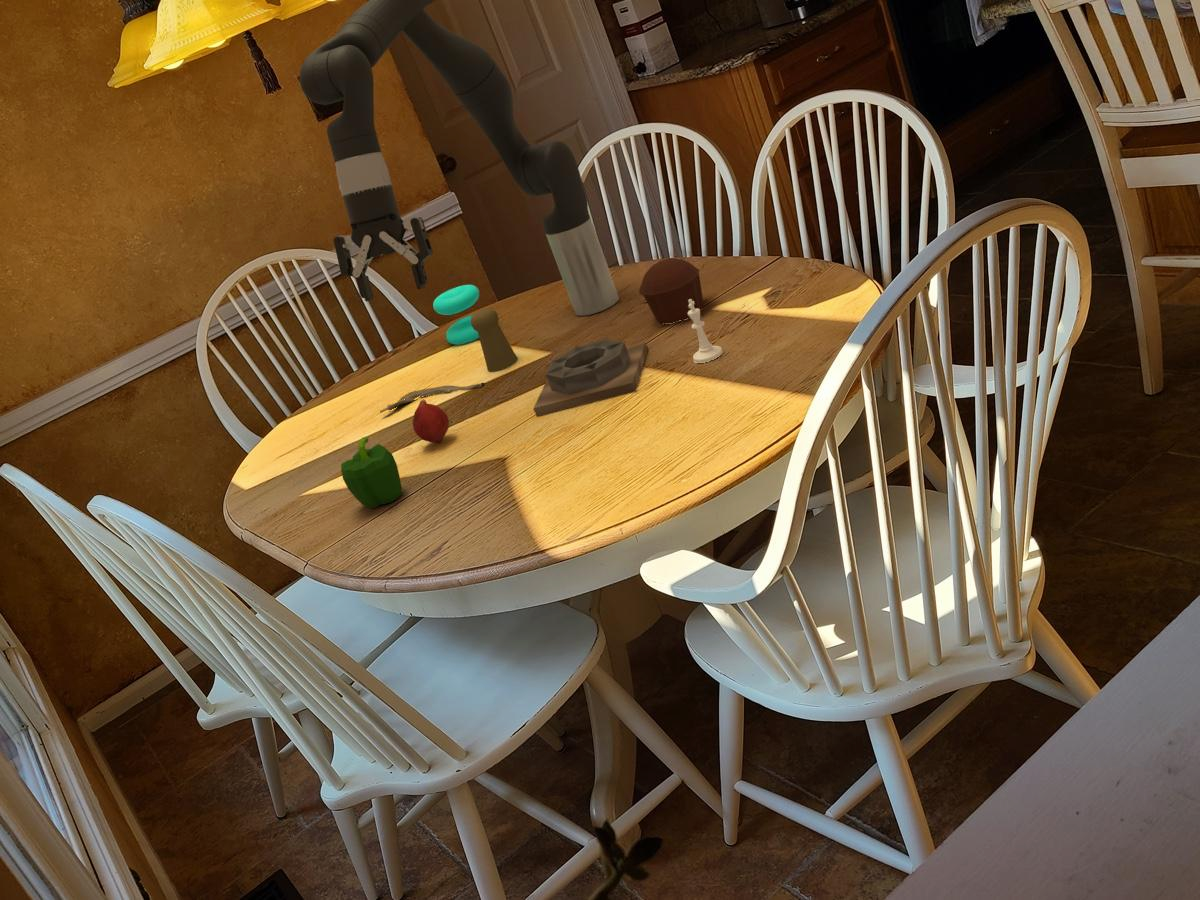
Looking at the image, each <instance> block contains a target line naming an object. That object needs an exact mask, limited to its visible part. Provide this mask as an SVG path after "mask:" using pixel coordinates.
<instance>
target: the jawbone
mask: <svg viewBox="0 0 1200 900" xmlns="http://www.w3.org/2000/svg"><path fill="white" fill-rule="evenodd" d="M485 385H486V383H485V382H480V383H477V384H475V383H474V384H471V385H467V386H460V385H459V386H458V385H442V386H435V387H429V388H425V389H419V390H414V391H409V392H408V393H407V394H405V395H403V396H402V397H400V398H399V400H398V401H397V402H394V403H392V404H388V405H387V406H386V407H385V408H383V409H381V410H380V411H379V413H380V414H381V413H383V412H386V411H389V410H392V409H394V408H396V407H397V406H398V407H399V406H400V405H402V404H405V403H410V402H414V401H413V400H414V399H415V398H417V397H419V396H420V397H422V396H427V397H429V396H428V395H431V396H434V395H433V394H435V395H439V394H443V393H444V394H445V393H452V391H453V392H459V391H458V390H461V391H468V389H469V390H473V389H474V388H475V389H479V388H481V387H483V386H485ZM404 399H405V400H404ZM398 407H397V408H398Z"/></svg>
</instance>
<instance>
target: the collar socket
mask: <svg viewBox="0 0 1200 900" xmlns="http://www.w3.org/2000/svg"><path fill="white" fill-rule="evenodd" d="M647 350H648V351H649V348H648V345H647V343H646V341H642V342H637V343H635V344H630V345H626V343H625V341H621V340H616V339H609V338H605V339H601V340H600V339H599V340H597V341H593V342H589V343H586V344H581V345H579V346H576V347H574V348H572V349H570V350H568V351H566V352H565V353H563V354H561V355H560V356H558V357H556V358H554V359H553V360H551V362H550V363H549V365H548V368H547V370H546V372H545V377H546V381H545V384H544V385H543V387H542V390H541V391H540V393H539V396H538V398H537V400H536V402H535V404H534V405H533V411H534V413H535V415H536V417H541V416H544V415H547V414H551V413H555V411H556V412H558V411H559V410H560V411H563V410H566V409H571V408H575V407H579V406H582V405H587V404H591V403H594V401H595V402H598V400H599V401H602V400H606V399H609V398H614V397H618V396H621V395H626V394H629V392H630V393H633V391H634V392H636V391H637V388H638V385H637V384H639V381H640V377H641V374H642V371H641V370H643V368H644V364H645V361H644V360H646V358H645V357H647V354H648V351H647ZM643 363H644V364H643ZM642 367H643V368H642ZM590 402H591V403H590ZM586 403H587V404H586Z"/></svg>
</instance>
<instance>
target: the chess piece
mask: <svg viewBox="0 0 1200 900" xmlns="http://www.w3.org/2000/svg"><path fill="white" fill-rule="evenodd" d="M688 302H689V306H688V307H689V308H691V310H690V311H689V312H688V315H689V317H690V320H691V321H692V322H693V323H692V324H691V329H693V330H694V329H695V330H696V333H697V338H698V345H699V348H698V351H696V352H695V353H694V354H693V356H692V358H693V363H695V364H697V363H704V364H706V363H705V362H708V363H710V362H709V361H711V360H714V359H716V358H717V357H719V356H720V355H721V354H722V353H723V354H724V350H723V349H722V346H719V345H713V344H711V343H710V342H709V339H708V338H707V335H706V334H705V330H704V329H703V327H705V326H704V325H705V322H704V321H703V320H702V321H701V311H700V309H698V308H694V304H695V303H694V301H692V299H689V300H688ZM722 350H723V351H722ZM723 354H722V355H723ZM719 358H720V357H719ZM716 360H717V359H716ZM714 361H715V360H714ZM711 362H712V361H711Z"/></svg>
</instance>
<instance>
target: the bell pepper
mask: <svg viewBox="0 0 1200 900" xmlns="http://www.w3.org/2000/svg"><path fill="white" fill-rule="evenodd" d="M368 442H369V437H368V436H363V437H361V438H360V440H359V442H358V446H357V447H358V451H357V452H356V453H355V454H354V455H353V456H352V459H347V460H346V461H344V462H342V463H341V465H340V467H341V470H340V471H341V472H340V473H341V475H342V476H341V477H342V479H343V481H344V483H345V486H346V487H347V489H348V490H349V492H350V494H352V495H353V497H354V498H355V499H356V500H357V501H358V502H359V503H360V504H361V505H362V506H364V507H367V508H369V509H375V508H377V507H380V506H381V505H386V504H389V503H390V504H391V503H393V502H394V501H396V500H397V499H398V498H399V497H400V495H401V494H402V490H403V488H402V481H401V477H400V472H399V470H398V464H397V462H396V460H395V457H394V455H393V453H392V452H390V451H389V450H388V449H387V448H386V447H385V446H383V445H381V444H379V443H377V444H375V445H374V446H373V447H372V448H366V444H367V443H368Z"/></svg>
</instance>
